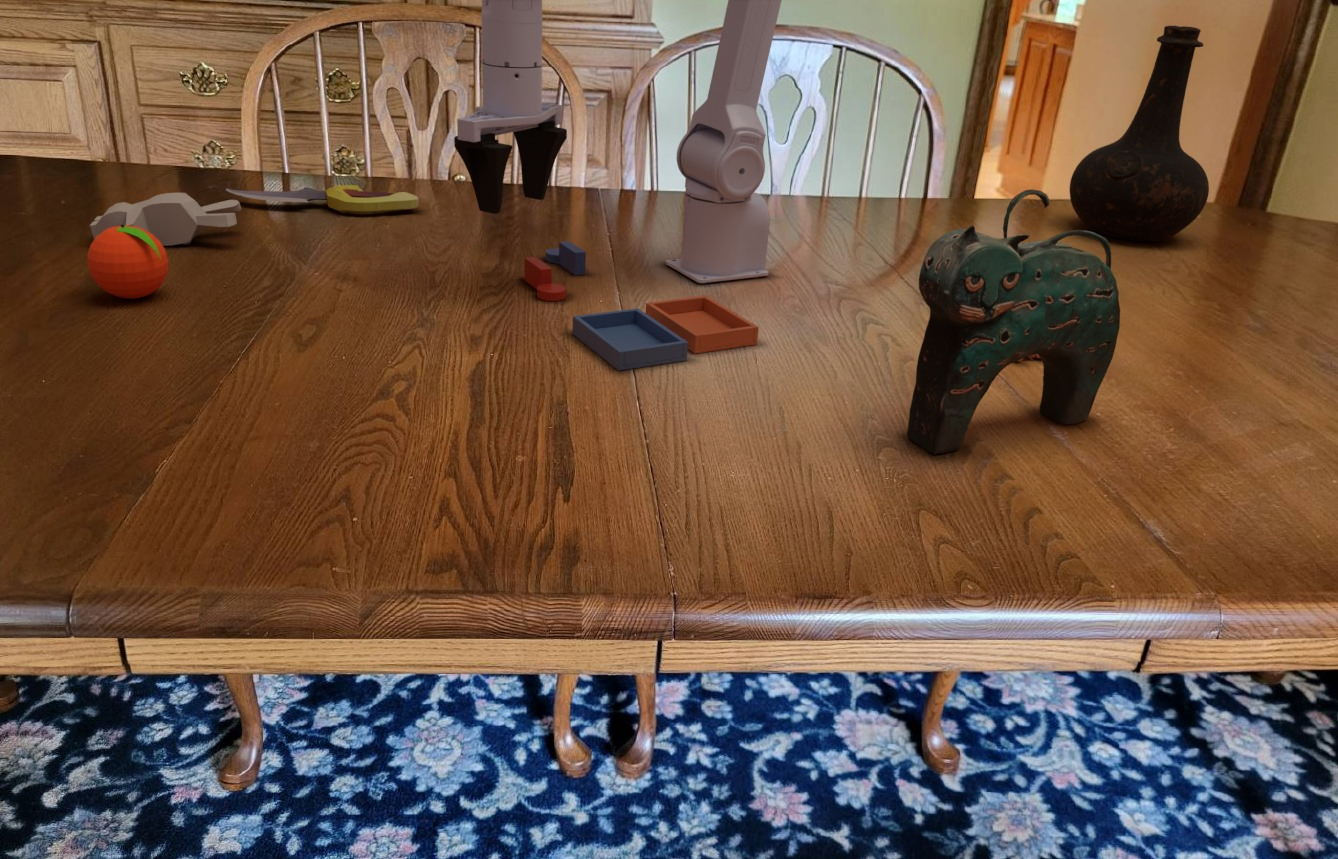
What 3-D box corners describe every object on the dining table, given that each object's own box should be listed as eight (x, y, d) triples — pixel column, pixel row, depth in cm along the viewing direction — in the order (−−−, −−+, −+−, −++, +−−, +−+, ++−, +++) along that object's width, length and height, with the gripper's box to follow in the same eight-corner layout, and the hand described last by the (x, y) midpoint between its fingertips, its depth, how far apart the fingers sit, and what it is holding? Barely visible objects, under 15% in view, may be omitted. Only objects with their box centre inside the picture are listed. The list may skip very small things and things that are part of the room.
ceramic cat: (925, 466, 80) (975, 203, 71) (873, 431, 85) (913, 182, 76) (1109, 427, 88) (1173, 189, 80) (1052, 397, 94) (1106, 171, 85)
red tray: (704, 311, 109) (706, 295, 108) (757, 344, 101) (758, 326, 100) (644, 319, 105) (645, 302, 105) (694, 353, 98) (695, 335, 97)
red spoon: (570, 299, 109) (571, 275, 108) (543, 302, 108) (544, 278, 107) (542, 278, 115) (542, 255, 114) (516, 281, 114) (516, 258, 113)
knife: (211, 209, 132) (413, 219, 133) (208, 188, 131) (412, 199, 132) (231, 195, 139) (423, 205, 141) (229, 175, 138) (422, 185, 139)
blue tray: (637, 325, 104) (638, 307, 103) (686, 360, 96) (688, 342, 95) (572, 333, 100) (572, 316, 100) (618, 370, 93) (619, 351, 92)
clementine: (197, 296, 103) (187, 224, 100) (138, 315, 98) (125, 240, 94) (138, 281, 106) (127, 211, 103) (77, 299, 100) (63, 226, 97)
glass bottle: (1038, 227, 151) (1083, 18, 139) (1098, 212, 162) (1145, 18, 150) (1159, 258, 139) (1220, 34, 127) (1214, 240, 150) (1276, 32, 138)
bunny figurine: (97, 196, 119) (236, 180, 122) (110, 239, 121) (246, 223, 125) (79, 217, 111) (229, 200, 114) (94, 264, 113) (240, 246, 117)
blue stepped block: (541, 257, 122) (541, 235, 121) (565, 255, 124) (565, 233, 123) (567, 276, 117) (568, 253, 115) (592, 273, 118) (592, 251, 117)
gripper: (522, 54, 109) (522, 186, 114) (429, 65, 97) (434, 211, 103) (580, 62, 106) (576, 197, 111) (491, 74, 94) (493, 223, 100)
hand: (512, 204), depth 107 cm, fingers open, 7 cm apart
